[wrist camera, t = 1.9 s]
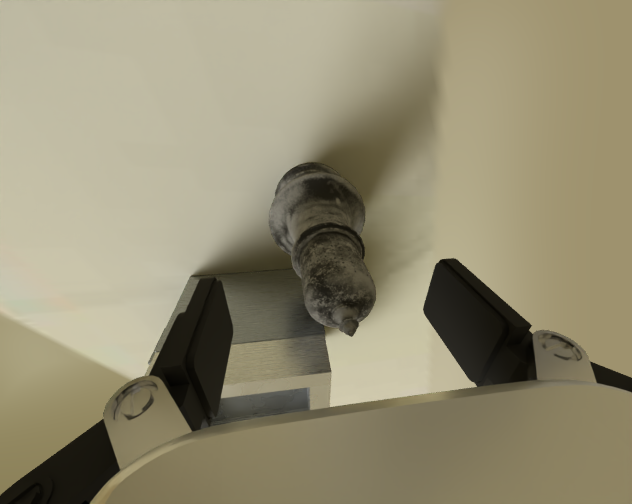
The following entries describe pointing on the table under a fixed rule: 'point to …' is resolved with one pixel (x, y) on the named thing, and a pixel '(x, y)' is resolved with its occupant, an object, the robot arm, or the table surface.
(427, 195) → the table surface
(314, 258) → the dark grey turned piece
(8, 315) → the table surface
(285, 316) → the grey open box
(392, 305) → the table surface
